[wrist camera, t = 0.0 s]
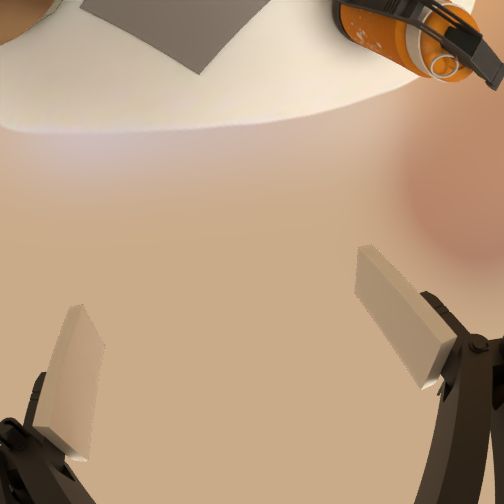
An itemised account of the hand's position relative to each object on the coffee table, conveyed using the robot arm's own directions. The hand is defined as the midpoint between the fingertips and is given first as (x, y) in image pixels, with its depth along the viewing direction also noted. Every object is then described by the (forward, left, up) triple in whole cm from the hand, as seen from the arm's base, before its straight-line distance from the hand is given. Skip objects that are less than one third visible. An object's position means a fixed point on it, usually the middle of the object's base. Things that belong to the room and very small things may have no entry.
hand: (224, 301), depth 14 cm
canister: (-21, +8, -28) cm, 36 cm away
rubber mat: (-10, -8, -28) cm, 31 cm away
